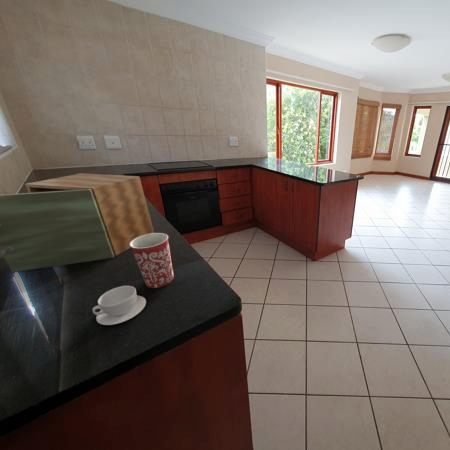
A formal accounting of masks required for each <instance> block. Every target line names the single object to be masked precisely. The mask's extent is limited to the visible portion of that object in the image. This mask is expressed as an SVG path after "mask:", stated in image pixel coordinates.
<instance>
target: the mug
mask: <svg viewBox="0 0 450 450" xmlns="http://www.w3.org/2000/svg"><path fill="white" fill-rule="evenodd" d="M129 245H130V247H131V248H130V249H131V251H132V254H133V255H134V256H133V257H134V258H135V261H136V263H137V266H138V268H139V271H140V274H141V276H142V279H143V281H144V284H145V286H146V287H147V288H150V289H160V288H163V287H166V286H167V285H169V284H170V283H171V282H173V280H174V278H175V275H174V267H173V262H172V257H171V249H170V244H169V235H168V234H167V233H163V232H154V233H151V234H146V235H142V236H140V237H137V238H135V239H134V240H132V241H131V242H130V244H129Z"/></svg>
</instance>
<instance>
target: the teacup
mask: <svg viewBox="0 0 450 450" xmlns="http://www.w3.org/2000/svg"><path fill="white" fill-rule="evenodd" d="M146 304H147V300H146V298H145V297H144V296H141V295H137V289H136V287H134V286H132V285H121V286H117V287H114V288H112V289H109V290H107V291H105V292H104V293H103V294H102V295H100V297H99V298H98V300H97V305H95V306H94V307H93V308H92V314H94V316H96V317H95V319H96V322H97V323H98V324H100V325H103V326H113V325H117V324H121V323H124V322H127V321H129V320H130V319H133V318H134V317H135V316H137V315H138V314H140V313H141V312H142V311H143V310H144V308H145V307H146ZM96 310H99V311H96Z"/></svg>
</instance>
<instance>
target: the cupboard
mask: <svg viewBox="0 0 450 450" xmlns="http://www.w3.org/2000/svg"><path fill="white" fill-rule="evenodd" d="M24 185H25V187H26V190H27V193H36V192H52V191H67V190H83V189H92V192H93V195H94V198H95V201H96V204H97V207H98V209H99V212H100V215H101V218H102V221H103V224H104V227H105V230H106V232H107V235H108V238H109V241H110V244H111V247H112V250H113V253H114V255H115V256H114V257H116V256H117V257H118V255H120V254H122V253H124V252H126V251H127V250H129V249H132V248H131V247H130V245H129V244H130V242H131V241H132V240H134V239H135V238H137V237H140V236H142V235H146V234H151V233H155V232H154V228H153V223H152V220H151V215H150V213H149V212H150V211H149V208H148V204H147V200H146V197H145V193H144V189H143V185H142V181H141V177H140V176H139V175H138V176H136V175H118V174H100V173H83V172H82V173H75V174H71V175H66V176H65V175H64V176H60V177H54V178H50V179H45V180H39V181H34V182H28V183H24Z"/></svg>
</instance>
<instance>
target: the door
mask: <svg viewBox="0 0 450 450" xmlns="http://www.w3.org/2000/svg"><path fill="white" fill-rule="evenodd" d="M115 257H116V256H115V255H114V253H113V250H112V247H111V244H110V241H109V238H108V235H107V232H106V230H105V227H104V224H103V221H102V218H101V215H100V212H99V209H98V207H97V204H96V201H95V198H94V195H93V192H92V189H83V190H67V191H52V192H36V193H29V192H23V193H22V192H21V193H8V194H7V193H6V194H0V259H4V261H5V262H6V264H7V266H8V267H9V269H10V271H11V273H18V272H25V271H30V270H31V271H32V270H39V269H45V268H51V267H59V266H65V265H73V264H80V263H86V262H94V261H100V260H101V261H102V260H107V259H114V258H115Z"/></svg>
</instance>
